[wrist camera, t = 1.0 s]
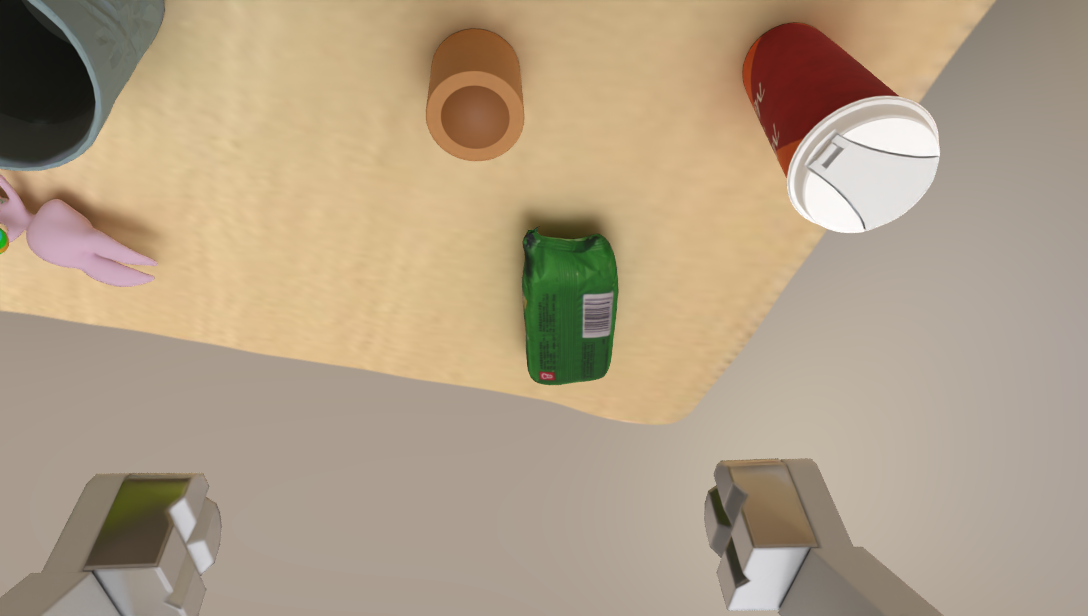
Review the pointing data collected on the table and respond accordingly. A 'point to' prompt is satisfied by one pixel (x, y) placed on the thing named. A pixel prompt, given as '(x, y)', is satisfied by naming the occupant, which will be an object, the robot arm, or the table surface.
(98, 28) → the grey green plant pot
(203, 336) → the table surface
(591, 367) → the snack package
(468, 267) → the table surface
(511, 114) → the terracotta hollow cylinder
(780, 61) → the paper cup
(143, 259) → the rabbit figure
